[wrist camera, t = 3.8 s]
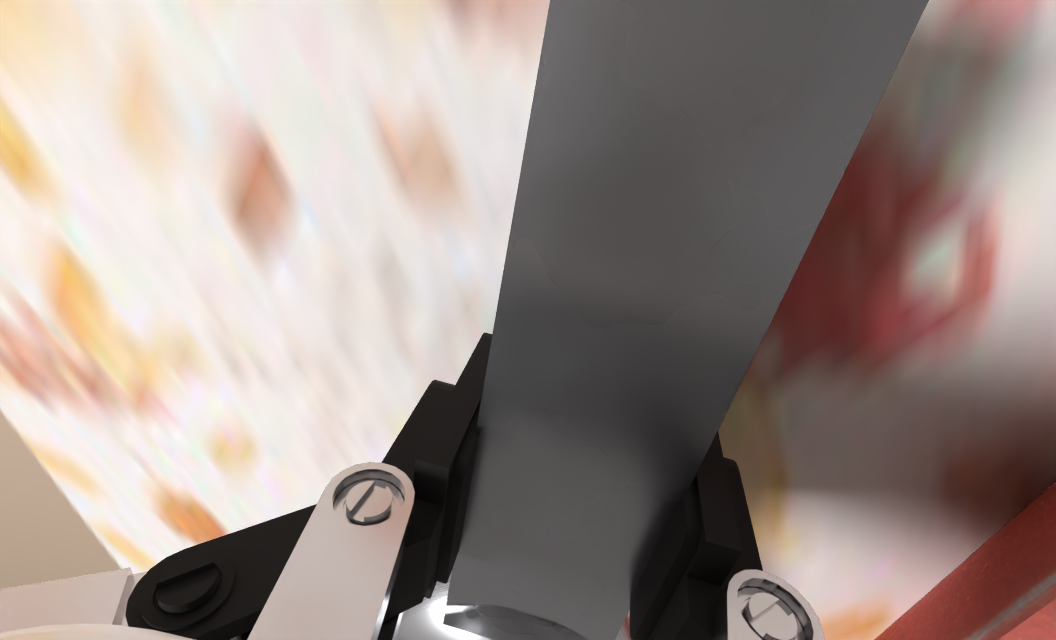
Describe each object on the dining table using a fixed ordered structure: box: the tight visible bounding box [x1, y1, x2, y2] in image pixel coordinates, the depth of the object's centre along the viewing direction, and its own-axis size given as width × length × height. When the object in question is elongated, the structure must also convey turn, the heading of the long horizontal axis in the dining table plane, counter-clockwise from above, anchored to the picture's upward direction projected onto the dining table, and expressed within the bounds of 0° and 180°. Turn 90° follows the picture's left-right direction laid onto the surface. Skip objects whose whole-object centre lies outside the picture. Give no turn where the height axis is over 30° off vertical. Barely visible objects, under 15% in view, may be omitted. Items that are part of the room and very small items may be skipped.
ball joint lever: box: [396, 0, 929, 640], centre depth 10 cm, size 16×6×4 cm, turn 169°
